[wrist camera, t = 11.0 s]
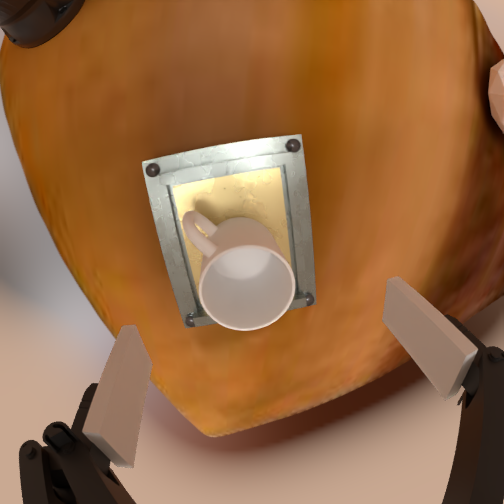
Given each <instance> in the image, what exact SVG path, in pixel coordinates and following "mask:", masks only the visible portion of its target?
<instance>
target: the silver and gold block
mask: <svg viewBox="0 0 504 504" xmlns="http://www.w3.org/2000/svg"><path fill="white" fill-rule="evenodd" d="M142 166H143V171H144V176H145V181H146V186H147V191H148V195H149V200H150V204H151V209H152V213H153V217H154V221H155V225H156V230H157V234H158V237H159V241H160V245H161V249H162V253H163V256H164V260H165V264H166V267H167V271H168V274H169V278H170V281H171V284H172V288H173V291H174V294H175V298H176V301H177V304H178V307H179V310H180V314H181V317H182V320H183V323H184V326H185V328H190V327H197V326H204V325H210V324H216V323H217V322H216V321H214V320H213V319H212V318H211V317H210V316H209V315H208V314H207V313H206V311H205V310H204V308H203V306H202V304H201V301H200V298H199V279H200V272H201V265H202V257H203V253H202V252H201V251H200V250H199V249H197V248H196V247H195V246H194V245H193V243H192V242H191V241H190V240H189V239H188V237H187V236H186V234H185V232H184V229H183V225H182V220H183V216H184V214H185V213H186V212H188V211H196V212H198V213H200V214H202V215H203V216H205V217H206V218H207V219H208V220H210V221H211V222H212V223H213V224H214V225H216V226H217V225H218V224H220V223H221V222H223V221H225V220H227V219H230V218H235V217H245V218H250V219H253V220H256V221H258V222H259V223H261V224H262V225H264V226H265V227H266V228H267V229H268V230H269V232H270V233H271V234H272V236H273V238H274V239H275V241H276V243H277V245H278V246H279V248H280V250H281V251H282V253H283V255H284V257H285V258H286V260H287V262H288V264H289V265H290V267H291V269H292V271H293V274H294V278H295V293H294V297H293V300H292V302H291V304H290V306H289V308H288V309H287V310H292V309H297V308H302V307H306V306H311V305H315V304H316V287H315V269H314V253H313V240H312V227H311V216H310V205H309V195H308V186H307V177H306V168H305V160H304V152H303V144H302V137H301V134H300V135H290V136H280V137H272V138H264V139H256V140H249V141H242V142H236V143H230V144H224V145H218V146H212V147H207V148H202V149H197V150H192V151H187V152H182V153H177V154H173V155H168V156H164V157H160V158H156V159H152V160H148V161H144V162H142ZM195 225H196V227H197V228H198V230H199V231H200V232H201V233H202V234H203V235H205V236H206V237H208V235H207V234H206V233H205V232H204V231H203V230H202V229H201V228H200V227H199V226H198V225H197V224H195ZM287 310H286V311H287Z"/></svg>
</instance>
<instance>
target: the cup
mask: <svg viewBox="0 0 504 504" xmlns="http://www.w3.org/2000/svg"><path fill="white" fill-rule="evenodd" d="M195 224H197V225H198V226H199V227H200V228H201V229H202V230H203V231H204V232H205V233H206V234H207V235H208V237H206V236H205V235H203V234H202V233H201V232H200V231H199V230H198V228H197V227H196V225H195ZM182 225H183V229H184V232H185V234H186V236H187V237H188V239H189V240H190V241H191V242H192V243H193V245H194V246H195V247H196V248H197V249H199V250H200V251H201V252H202V253H203V257H202V265H201V272H200V279H199V298H200V301H201V304H202V306H203V308H204V310H205V311H206V313H207V314H208V315H209V316H210V317H211V318H212V319H213V320H214V321H216V322H217V323H219V324H220V325H222V326H225V327H227V328H230V329H234V330H242V331H247V330H255V329H259V328H263V327H265V326H268V325H270V324H272V323H273V322H275V321H276V320H278V319H279V318H280V317H281V316H282V315H283V314H284V313H285V312H286V310H287V309H288V308H289V306H290V304H291V302H292V300H293V297H294V293H295V278H294V274H293V271H292V269H291V267H290V265H289V264H288V262H287V260H286V258H285V257H284V255H283V253H282V251H281V250H280V248H279V246H278V245H277V243H276V241H275V239H274V238H273V236H272V234H271V233H270V232H269V230H268V229H267V228H266V227H265V226H264V225H262V224H261V223H259V222H258V221H256V220H253V219H250V218H245V217H235V218H230V219H227V220H225V221H223V222H221V223H220V224H218V225H217V226H216V225H214V224H213V223H212V222H211V221H210V220H208V219H207V218H206V217H205V216H203V215H202V214H200V213H198V212H196V211H188V212H186V213H185V214H184V216H183V220H182Z"/></svg>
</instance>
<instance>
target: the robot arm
mask: <svg viewBox="0 0 504 504" xmlns="http://www.w3.org/2000/svg"><path fill="white" fill-rule="evenodd" d="M83 2H84V0H0V27H1V29H2V30H3V31H4V33H5V34H6V35H7V37H8V38H9V40H10V41H11V42H12V43H14V44H15V45H18V46H20V47H23V48H32V47H36V46H38V45H41V44H43V43H45V42H46V41H48V40H50V39H51V38H52V37H54V36H55V35H56V34H58V33H59V32H60V31H61V30H62V29H63V28H64V27H65V26H66V25H67V24H68V23H69V22H70V21H71V20H72V19H73V17H74V16H75V15H76V14H77V12H78V11H79V9H80V8H81V6H82V4H83ZM382 321H383V322H384V324H385V325H386V326H387V327H388V328H389V330H390V331H391V332H392V333H393V334H394V336H395V337H396V338H397V339H398V341H399V342H400V343H401V344H402V346H403V347H404V348H405V349H406V351H407V352H408V353H409V354H410V356H411V357H412V358H413V359H414V361H415V362H416V363H417V365H418V366H419V367H420V368H421V370H422V371H423V372H424V374H425V375H426V376H427V377H428V379H429V380H430V381H431V383H432V384H433V385H434V387H435V388H436V389H437V391H438V392H439V393H440V395H441V396H442V397H443V399H444V400H445V401H446V400H447V399H449V398H451V397H453V396H454V395H456V394H457V393H458V391H459V389H460V387H461V385H462V386H463V387H464V388H465V390H464V392H463V394H462V396H461V398H460V400H459V401H458V404H457V405H460V403H461V401H462V411H461V420H460V427H459V434H458V440H457V446H456V451H455V456H454V461H453V465H452V470H451V474H450V478H449V482H448V485H447V489H446V492H445V496H444V499H443V502H442V504H503V499H504V351H503V350H501V349H500V348H498V347H494V346H492V347H486V346H485V345H484V344H483V343H481V342H480V341H479V340H478V339H477V338H476V337H475V336H474V335H473V334H472V333H471V332H470V331H468V330H467V328H466V327H465V326H463V325H462V324H461V323H460V322H459V321H458V320H457V319H456V318H454V317H452V316H450V315H448V314H447V315H444V316H443V315H442V314H441V313H440V312H439V311H438V310H437V309H436V308H435V307H433V306H432V305H431V304H430V303H429V302H428V301H427V300H426V299H425V298H423V297H422V296H421V295H420V294H419V293H418V292H417V291H415V290H414V289H413V288H412V287H411V286H410V285H408V284H407V283H406V282H405V281H404V280H403V279H401V278H400V277H399V276H397V277H394V278H390V279H387V286H386V296H385V304H384V312H383V319H382ZM152 365H153V364H152V361H151V359H150V357H149V355H148V353H147V351H146V348H145V346H144V344H143V341H142V339H141V337H140V335H139V332H138V330H137V327H136V325H126V326H122V327H121V330H120V332H119V334H118V337H117V339H116V341H115V344H114V346H113V349H112V351H111V353H110V356H109V358H108V361H107V363H106V366H105V368H104V371H103V373H102V376H101V378H100V381H99V383H92V384H91V385H90V386H89V387H88V388H87V389H86V391H85V393H84V395H83V398H82V402H81V403H80V405H79V409H78V411H77V413H76V416H75V419H74V422H73V425H72V428H71V429H70V428H69V427H68V426H67V425H66V424H65V423H63V422H54V423H51V424H50V425H48V426H47V427H46V429H45V430H44V433H43V441H44V442H45V443H46V444H47V445H48V446H44V447H42V446H41V445H40V444H39V443H38V442H37V441H34V440H28V441H26V442H25V443H24V444H23V445H22V446H21V448H20V451H19V466H20V479H21V490H22V497H23V504H136V503H135V501H134V500H133V499H132V498H131V496H130V495H129V493H128V492H127V491H126V489H125V488H124V487H123V485H122V484H121V482H120V481H119V479H118V478H117V476H116V475H115V474H114V472H113V470H112V469H111V468H110V467H109V466H110V461H112V462H113V463H114V464H115V465H116V466H117V467H125V468H133V467H134V460H135V453H136V447H137V441H138V435H139V429H140V423H141V418H142V413H143V407H144V403H145V398H146V392H147V388H148V382H149V378H150V374H151V369H152Z"/></svg>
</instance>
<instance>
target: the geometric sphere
mask: <svg viewBox="0 0 504 504" xmlns="http://www.w3.org/2000/svg"><path fill="white" fill-rule="evenodd" d="M488 96H489V102H490V109H491V115H492V117H493V118H494V120H495V121H496V123H497V124H498V126H499V127H500V129H501V130H502V132H503V134H504V59H503V60H502V61H500V62H499V63H497V64H496V65H495V66H493V67H492V68H491V69H490V79H489V88H488Z"/></svg>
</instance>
